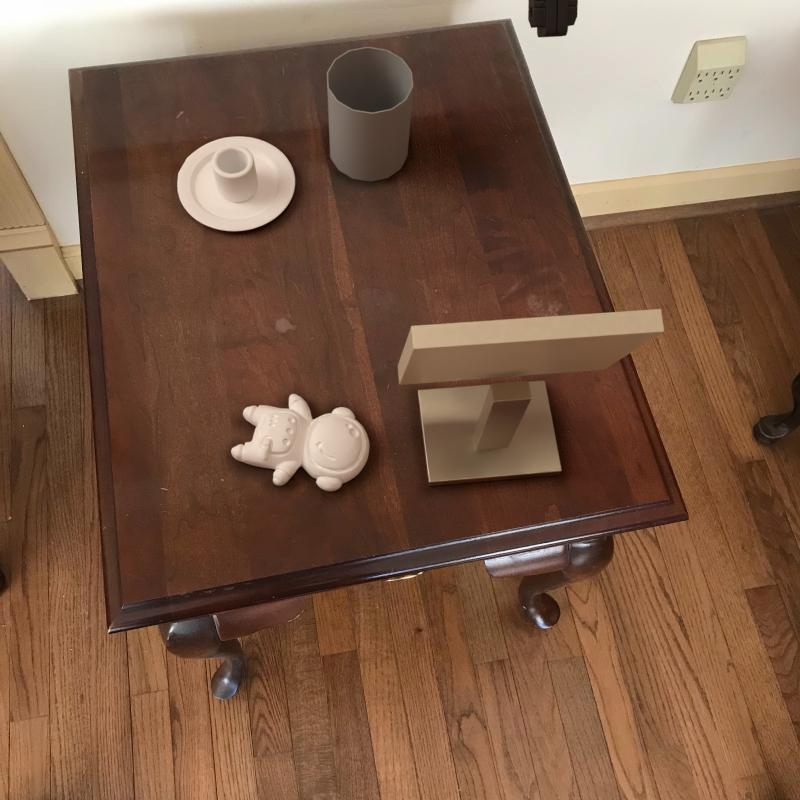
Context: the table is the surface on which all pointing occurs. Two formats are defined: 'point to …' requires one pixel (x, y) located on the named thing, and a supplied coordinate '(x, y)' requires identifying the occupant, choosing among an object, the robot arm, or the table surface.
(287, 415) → the astronaut figurine
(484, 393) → the monitor stand
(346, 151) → the cup
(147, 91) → the table surface
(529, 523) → the table surface
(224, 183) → the candle holder
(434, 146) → the table surface
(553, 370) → the monitor screen
